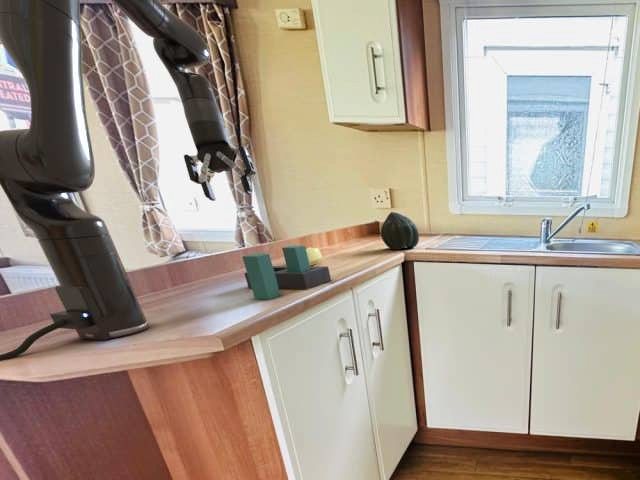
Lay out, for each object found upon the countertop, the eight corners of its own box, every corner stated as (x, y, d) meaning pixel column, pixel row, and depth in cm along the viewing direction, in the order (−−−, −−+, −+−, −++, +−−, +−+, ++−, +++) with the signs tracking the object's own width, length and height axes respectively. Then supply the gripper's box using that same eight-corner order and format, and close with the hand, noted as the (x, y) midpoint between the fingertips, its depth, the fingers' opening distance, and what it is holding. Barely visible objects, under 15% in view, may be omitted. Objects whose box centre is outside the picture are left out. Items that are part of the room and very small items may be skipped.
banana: (329, 240, 147) (284, 256, 132) (336, 255, 150) (293, 273, 134) (304, 249, 154) (258, 266, 138) (312, 264, 156) (268, 282, 141)
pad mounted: (304, 286, 113) (294, 247, 108) (291, 286, 114) (281, 247, 109) (314, 283, 116) (305, 245, 112) (301, 283, 117) (292, 245, 113)
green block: (268, 299, 100) (256, 256, 96) (254, 299, 101) (241, 256, 97) (280, 295, 104) (269, 253, 99) (267, 295, 105) (255, 253, 100)
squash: (422, 235, 168) (412, 204, 172) (384, 240, 164) (375, 208, 167) (421, 256, 181) (412, 227, 185) (386, 261, 177) (377, 231, 180)
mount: (306, 289, 109) (302, 273, 107) (248, 288, 113) (244, 273, 112) (331, 280, 118) (328, 266, 116) (276, 280, 122) (272, 266, 121)
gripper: (165, 124, 96) (191, 198, 99) (230, 113, 98) (253, 187, 101) (185, 137, 103) (208, 205, 107) (245, 127, 105) (266, 195, 108)
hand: (230, 196), depth 104 cm, fingers open, 8 cm apart
